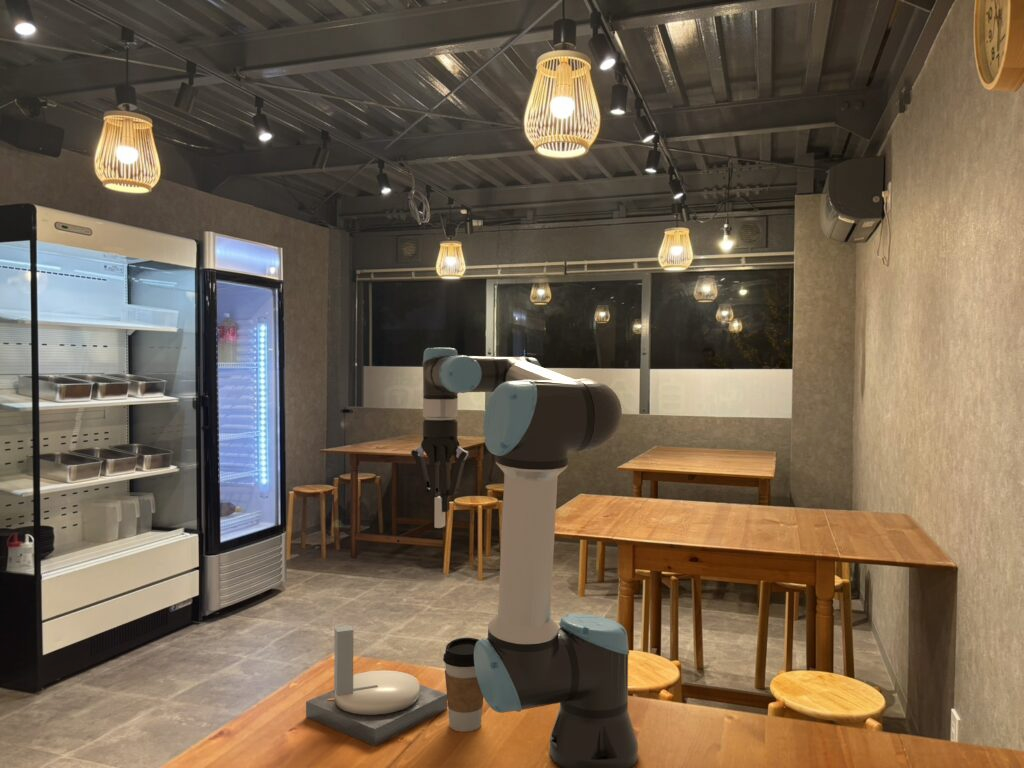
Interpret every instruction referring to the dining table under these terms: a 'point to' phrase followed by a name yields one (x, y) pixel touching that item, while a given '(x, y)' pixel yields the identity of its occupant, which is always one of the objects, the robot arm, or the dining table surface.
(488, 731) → the dining table surface
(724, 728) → the dining table surface
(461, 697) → the coffee cup
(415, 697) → the dial
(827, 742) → the dining table surface
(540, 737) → the dining table surface
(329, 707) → the dial housing
